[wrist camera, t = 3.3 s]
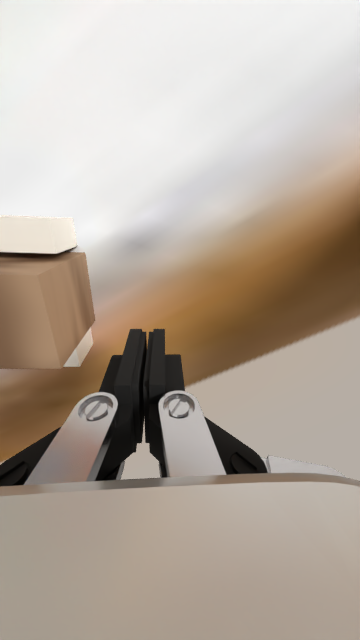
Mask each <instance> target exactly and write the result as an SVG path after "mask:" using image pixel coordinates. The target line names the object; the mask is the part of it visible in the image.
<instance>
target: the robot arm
mask: <svg viewBox="0 0 360 640" xmlns="http://www.w3.org/2000/svg"><path fill="white" fill-rule="evenodd" d="M144 419H145V439H146V443H149V444H150V453H151V454H152V455H153V456H154V457H155V458H156V459H157V460H158V461H159V469H160V477H161V478H148V479H128V480H120V479H121V475H122V472H123V469H124V462H125V461H124V460H125V459H126V458H127V457H129V456H130V455H131V454H132V453H133V452H136V446H137V443H141V442H142V434H143V424H144ZM0 640H360V481H358V480H354V479H350V478H346V477H345V476H344V475H343V474H342V473H340V472H339V471H337V470H335V469H333V468H330V467H327V466H323V465H318V464H312V463H307V462H302V461H297V460H291V459H286V458H281V457H275V456H269V455H268V457H267V458H262V457H260V456H259V455H258V454H257V453H256V452H255V451H254V450H252V449H251V448H249V447H248V446H246V445H245V444H243V443H242V442H241V441H239V440H238V439H236V438H235V437H233V436H232V435H230V434H229V433H228V432H226V431H225V430H223V429H222V428H220V427H219V426H217V425H216V424H214V423H213V422H211V421H210V420H209V419H207V418H206V417H204V415H203V412H202V410H201V408H200V405H199V402H198V400H197V399H196V398H195V397H194V396H193V395H192V394H190V393H188V392H185V388H184V380H183V372H182V363H181V356H180V355H165V329H154V332H149V339H148V347H147V341H146V332H142V329H130V332H129V335H128V339H127V342H126V346H125V349H124V352H123V355H113V356H112V357H111V360H110V362H109V365H108V368H107V371H106V373H105V376H104V379H103V382H102V384H101V387H100V390H99V392H98V393H93V394H90V395H88V396H86V397H84V398H83V399H82V400H80V401H79V402H78V403H77V405H76V406H75V407H74V409H73V410H72V412H71V413H70V415H69V416H68V418H67V419H66V421H65V422H64V424H63V426H61V427H60V428H58V429H57V430H55V431H53V432H52V433H50V434H48V435H47V436H45V437H44V438H42V439H40V440H39V441H37V442H36V443H34V444H32V445H31V446H29V447H27V448H26V449H24V450H23V451H21V452H19V453H18V454H16V455H15V456H13V457H11V458H10V459H8V460H6V461H5V462H4V463H2V464H1V465H0Z"/></svg>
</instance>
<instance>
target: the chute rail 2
mask: <svg viewBox="0 0 360 640" xmlns="http://www.w3.org/2000/svg"><path fill="white" fill-rule="evenodd" d="M92 345H93V339H92V333H91V327H90V329H89V330H88V331H87V333H86V334H85V336H84V337H83V339H82V340H81V341H80V343H79V344H78V346H77V347H76V349H75V350H74V352H73V353H72V354H71V356H70V357H69V359H68V360H67V362H66V363H65V364H64V366H63V367H80V365H81V364H82V362H83V360H84V359H85V357H86V355H87V354H88V352H89V350H90V348H91V347H92Z"/></svg>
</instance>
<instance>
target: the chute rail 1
mask: <svg viewBox="0 0 360 640" xmlns="http://www.w3.org/2000/svg"><path fill="white" fill-rule="evenodd" d="M76 246H77V240H76V234H75V228H74V222H73V218H64V217H38V216H12V215H0V252H19V253H51V254H57V253H60V252H62V251H65V250H68V249H71V248H73V247H76Z"/></svg>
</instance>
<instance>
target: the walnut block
mask: <svg viewBox="0 0 360 640" xmlns="http://www.w3.org/2000/svg"><path fill="white" fill-rule="evenodd" d="M94 321H95V315H94V309H93V302H92V295H91V289H90V282H89V275H88V268H87V262H86V255H85V253H78V252H60V253H57V254H51V253H19V252H0V369H62V367H63V366H64V364H65V363H66V362H67V360H68V359H69V357H70V356H71V354H72V353H73V352H74V350H75V349H76V347H77V346H78V344H79V343H80V341H81V340H82V339H83V337H84V336H85V334H86V333H87V331H88V330H89V329H90V327H91V326H92V324H93V323H94Z"/></svg>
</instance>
